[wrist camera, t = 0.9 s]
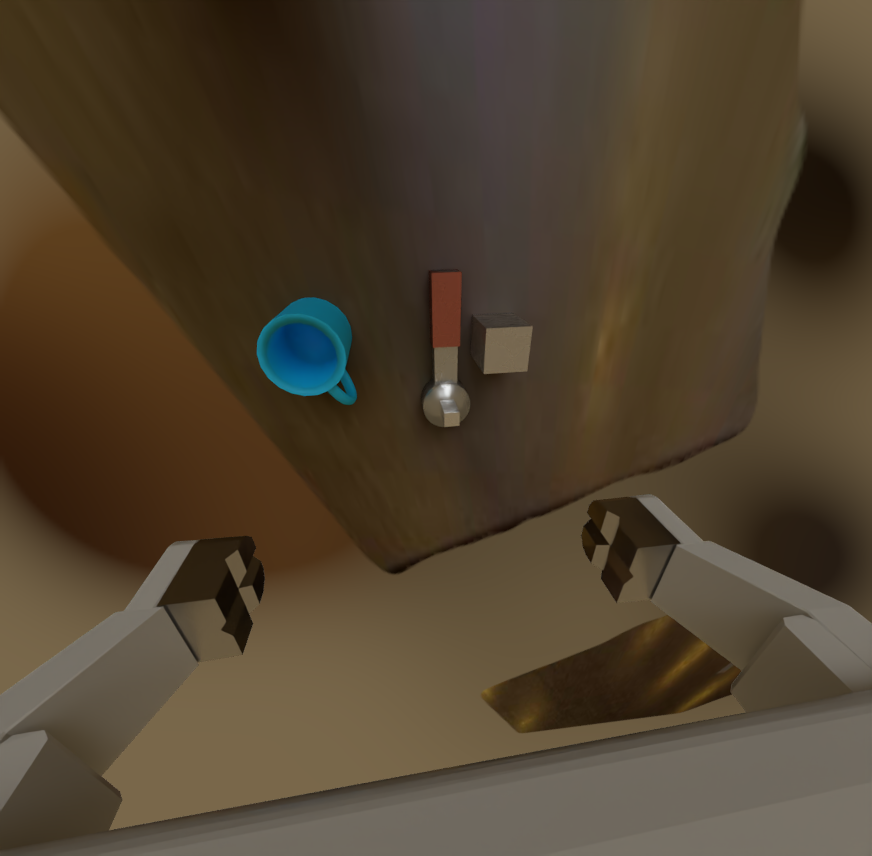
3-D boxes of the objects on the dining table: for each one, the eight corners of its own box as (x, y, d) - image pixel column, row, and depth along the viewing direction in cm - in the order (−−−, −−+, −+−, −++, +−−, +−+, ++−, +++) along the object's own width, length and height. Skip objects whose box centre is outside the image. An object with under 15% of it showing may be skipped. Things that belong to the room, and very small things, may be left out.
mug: (262, 321, 39) (236, 342, 32) (322, 282, 38) (309, 295, 31) (329, 403, 45) (320, 436, 38) (383, 371, 44) (384, 399, 37)
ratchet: (416, 270, 38) (422, 278, 33) (469, 269, 39) (484, 276, 34) (421, 417, 48) (427, 443, 42) (464, 414, 48) (475, 439, 43)
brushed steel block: (472, 314, 42) (486, 328, 36) (512, 312, 42) (532, 326, 37) (470, 355, 44) (483, 374, 39) (508, 353, 45) (527, 371, 39)
